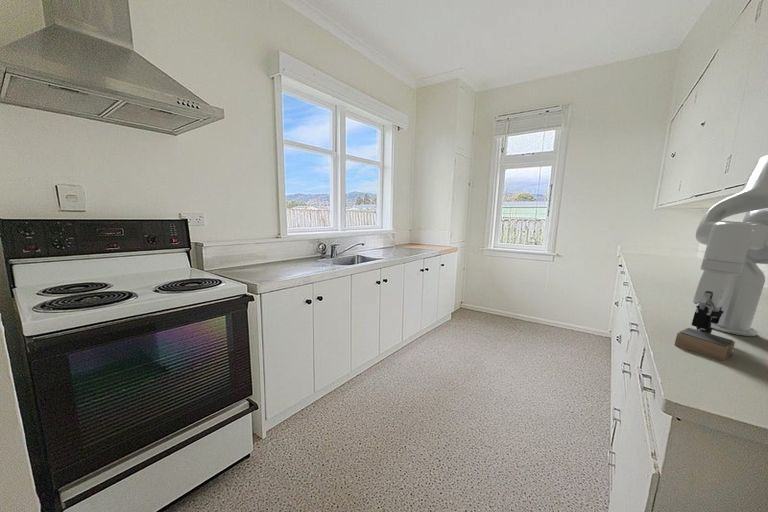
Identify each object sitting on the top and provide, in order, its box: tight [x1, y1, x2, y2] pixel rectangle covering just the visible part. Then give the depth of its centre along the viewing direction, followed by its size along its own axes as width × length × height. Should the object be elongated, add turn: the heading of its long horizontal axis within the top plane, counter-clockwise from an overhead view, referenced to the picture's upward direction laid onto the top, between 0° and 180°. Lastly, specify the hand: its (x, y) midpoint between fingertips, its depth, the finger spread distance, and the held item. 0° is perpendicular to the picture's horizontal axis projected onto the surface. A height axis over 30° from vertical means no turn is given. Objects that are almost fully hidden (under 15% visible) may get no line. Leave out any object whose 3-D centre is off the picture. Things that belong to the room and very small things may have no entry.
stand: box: [674, 327, 736, 362], centre depth 78 cm, size 8×9×4 cm
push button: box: [695, 305, 724, 334], centre depth 85 cm, size 7×5×10 cm
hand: (704, 324), depth 85 cm, fingers open, 9 cm apart
